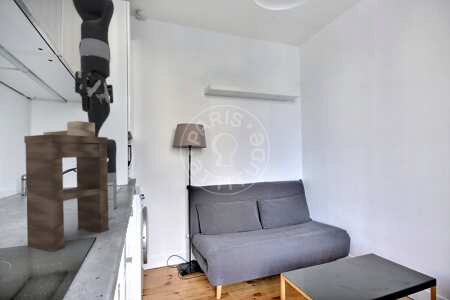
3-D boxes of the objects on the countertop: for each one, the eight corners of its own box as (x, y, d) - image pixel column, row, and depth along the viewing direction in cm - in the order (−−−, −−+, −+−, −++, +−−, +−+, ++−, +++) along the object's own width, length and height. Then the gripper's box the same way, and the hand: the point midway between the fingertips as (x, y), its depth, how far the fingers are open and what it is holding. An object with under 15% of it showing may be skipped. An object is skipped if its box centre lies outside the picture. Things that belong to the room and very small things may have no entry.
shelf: (84, 226, 82) (83, 138, 82) (109, 229, 77) (107, 137, 77) (26, 246, 65) (24, 136, 65) (54, 252, 60) (51, 134, 61)
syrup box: (91, 220, 89) (90, 183, 89) (104, 216, 94) (103, 181, 94) (102, 221, 87) (101, 184, 87) (114, 217, 92) (113, 182, 92)
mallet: (56, 139, 84) (55, 126, 84) (95, 137, 77) (94, 123, 77) (38, 139, 78) (37, 124, 78) (78, 136, 71) (77, 121, 71)
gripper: (98, 68, 74) (99, 117, 74) (64, 48, 60) (66, 109, 59) (120, 67, 73) (121, 116, 73) (91, 47, 59) (93, 108, 59)
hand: (96, 113), depth 66 cm, fingers open, 8 cm apart
